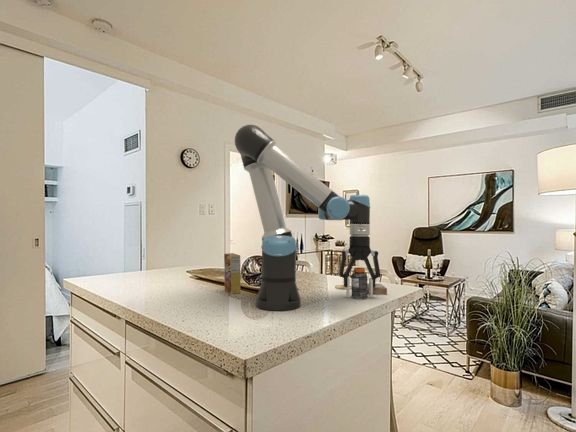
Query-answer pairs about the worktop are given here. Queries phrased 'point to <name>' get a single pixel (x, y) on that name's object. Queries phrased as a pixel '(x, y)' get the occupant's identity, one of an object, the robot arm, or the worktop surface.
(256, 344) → the worktop surface
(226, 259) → the candy box
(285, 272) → the robot arm
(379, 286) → the walnut stand
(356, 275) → the pill bottle
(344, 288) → the cork coaster
